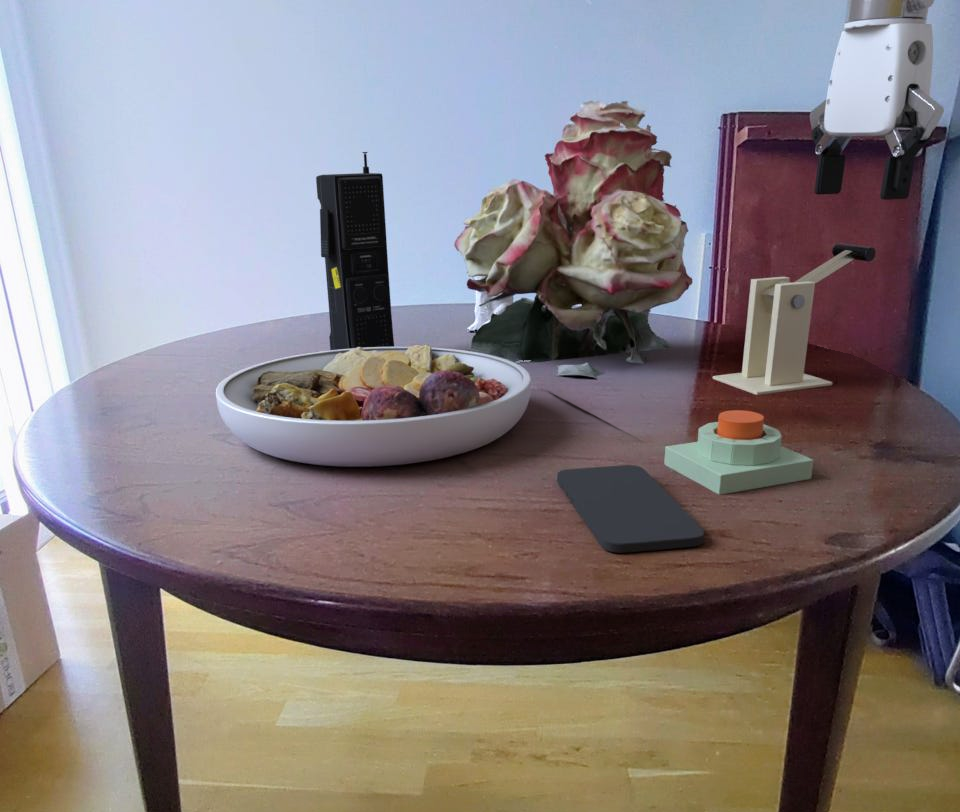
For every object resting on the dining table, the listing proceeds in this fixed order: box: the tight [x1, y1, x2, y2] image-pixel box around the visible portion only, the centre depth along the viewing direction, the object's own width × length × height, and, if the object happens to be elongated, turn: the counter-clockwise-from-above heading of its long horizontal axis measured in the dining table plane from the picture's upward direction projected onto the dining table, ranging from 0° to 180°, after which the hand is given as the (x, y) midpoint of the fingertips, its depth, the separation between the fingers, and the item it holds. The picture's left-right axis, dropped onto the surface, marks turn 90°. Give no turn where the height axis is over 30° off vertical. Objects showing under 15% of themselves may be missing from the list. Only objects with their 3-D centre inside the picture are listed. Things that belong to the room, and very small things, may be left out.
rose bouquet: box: [454, 100, 693, 381], centre depth 109 cm, size 26×29×30 cm
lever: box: [762, 242, 877, 314], centre depth 97 cm, size 12×5×2 cm, turn 112°
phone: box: [556, 464, 706, 554], centre depth 68 cm, size 7×1×15 cm
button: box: [717, 409, 765, 440], centre depth 74 cm, size 4×4×2 cm
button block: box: [663, 421, 814, 495], centre depth 75 cm, size 9×8×4 cm
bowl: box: [215, 344, 532, 468], centre depth 88 cm, size 30×30×8 cm
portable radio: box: [315, 151, 395, 350], centre depth 112 cm, size 8×6×25 cm
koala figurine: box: [459, 252, 514, 330], centre depth 133 cm, size 8×7×12 cm
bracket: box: [712, 276, 833, 396], centre depth 98 cm, size 10×8×12 cm
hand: (859, 196), depth 96 cm, fingers open, 9 cm apart
